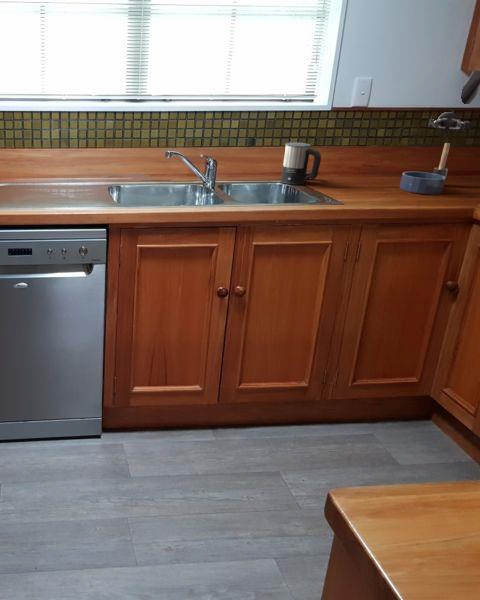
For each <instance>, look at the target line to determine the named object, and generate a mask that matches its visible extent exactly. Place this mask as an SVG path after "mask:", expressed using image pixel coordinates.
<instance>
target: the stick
mask: <svg viewBox="0 0 480 600" xmlns="http://www.w3.org/2000/svg"><path fill="white" fill-rule="evenodd" d="M450 147H451V143H450V142H445V143H444V145H443V149H442V154H441V157H440V160H439V165H438V168H439V169H441V170H444V168H445V166H446V162H447V158H448V155H449V150H450Z"/></svg>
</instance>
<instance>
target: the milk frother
mask: <svg viewBox="0 0 480 600" xmlns="http://www.w3.org/2000/svg"><path fill="white" fill-rule="evenodd" d="M310 147H311V144H309V143H305V142H285V150H284V156H283V165H282V171H281V177H280V180H279V182H280V183H283V184H287V185H304V184H305V181H306V180H309V179H311V180H316V178H317V177H318V175H319V171H320V170H319V169H320V165H321V162H322V155H321V153H320V151H318V149H314V148H310ZM310 155H311V156H313V159H314V160H313V164H312V168H311V172H307V171H308V165H309V157H310Z"/></svg>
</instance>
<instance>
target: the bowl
mask: <svg viewBox="0 0 480 600" xmlns="http://www.w3.org/2000/svg"><path fill="white" fill-rule="evenodd" d="M444 182H445V183H446V179H445V177H444V176H442V175H438V174H433V172H425V171H404V172H402V174H401V178H400V183H399V189H400V190H402V191H405V192H408V193H409V192H411V193H413V194H414V193H416V195H422V194H424V196H430V195H439V194H442V193H443V190H444V186H445V183H444Z"/></svg>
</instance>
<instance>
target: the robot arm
mask: <svg viewBox="0 0 480 600" xmlns="http://www.w3.org/2000/svg"><path fill="white" fill-rule="evenodd" d="M463 85H464V86H463ZM463 85H462V87H463V89H462V93H461V94H462V95H461V99H462V102H463V103H464V104H472V103H473V101H474V100H475V99H476V98H477V96H478V94H479V93H480V71H474V70H472V72H471V74H470V76H469V77H468V78H467V80H466V81H465V83H464V84H463ZM453 112H454V111H453ZM453 112H444V113H442V114H441V115H440V116H439V117H438V119H437V120H435V121H434V119H432V118H429V121H428V125H427V127H429V128H430V127H432V126H433V128H437V129H438V130H440V131H441V132H443V133H450V132H453V131H454V130H470V126H471V122H470V121H469V120H464V121H462V120H461V119H458V117H457V116H456V114H455V113H453Z"/></svg>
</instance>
